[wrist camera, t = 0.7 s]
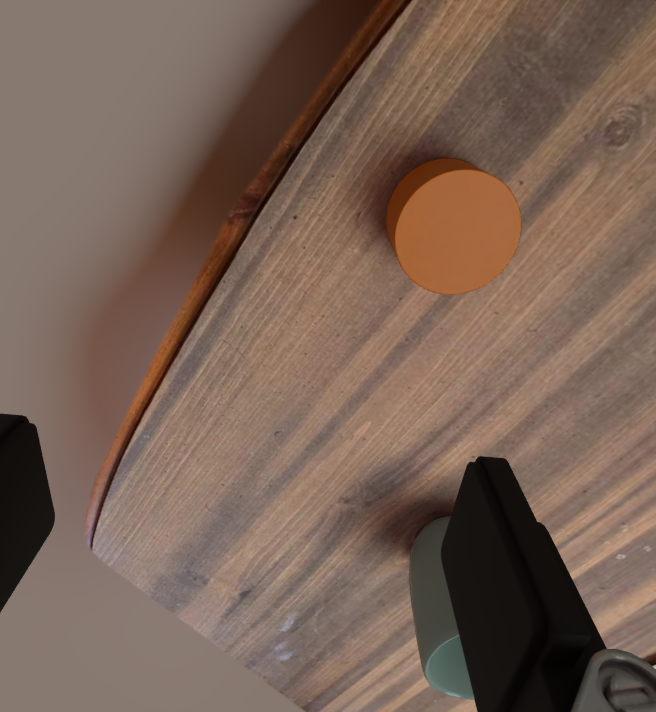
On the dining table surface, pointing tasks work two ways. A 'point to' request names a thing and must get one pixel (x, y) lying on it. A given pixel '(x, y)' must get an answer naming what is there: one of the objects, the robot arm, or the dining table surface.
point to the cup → (436, 615)
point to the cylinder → (452, 226)
